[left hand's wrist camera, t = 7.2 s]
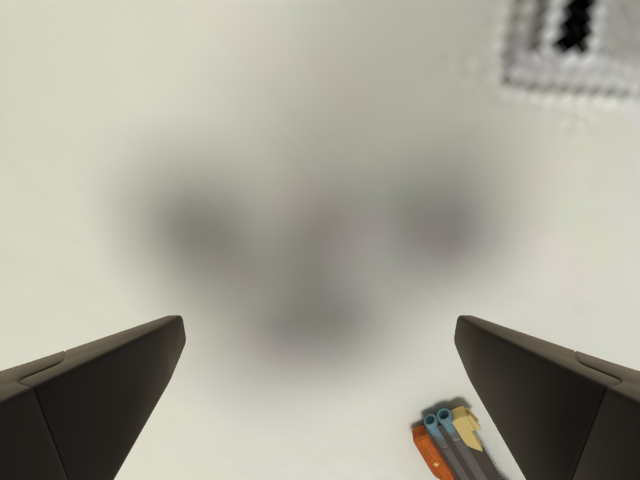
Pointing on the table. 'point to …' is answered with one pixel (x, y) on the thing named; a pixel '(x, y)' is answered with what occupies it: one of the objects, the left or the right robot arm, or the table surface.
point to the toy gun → (454, 446)
